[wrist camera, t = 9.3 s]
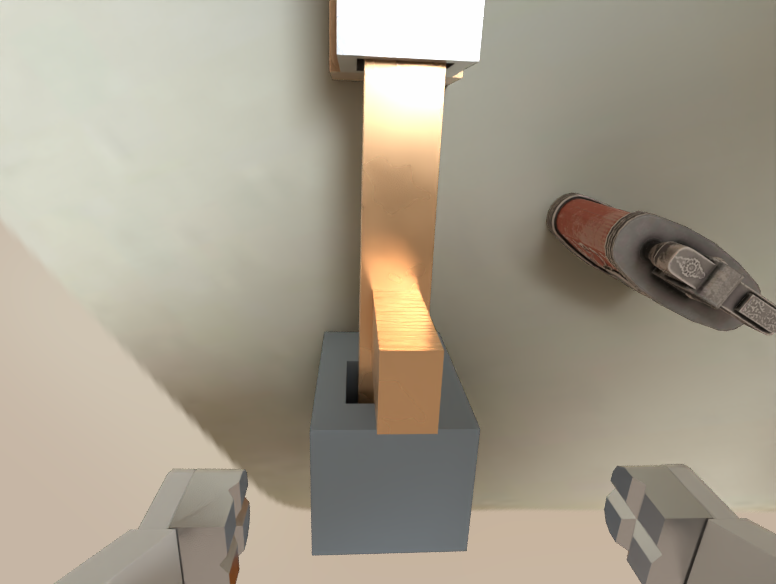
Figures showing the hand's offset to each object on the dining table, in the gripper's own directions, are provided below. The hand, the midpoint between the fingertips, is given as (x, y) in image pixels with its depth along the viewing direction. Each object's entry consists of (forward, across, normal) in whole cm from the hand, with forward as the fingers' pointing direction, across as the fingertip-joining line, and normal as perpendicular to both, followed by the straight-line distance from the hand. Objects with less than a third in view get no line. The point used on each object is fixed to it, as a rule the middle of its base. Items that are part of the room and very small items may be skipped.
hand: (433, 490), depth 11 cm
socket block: (+18, 0, +8) cm, 20 cm away
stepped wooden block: (+14, 0, -2) cm, 14 cm away
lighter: (+18, -13, -2) cm, 23 cm away
